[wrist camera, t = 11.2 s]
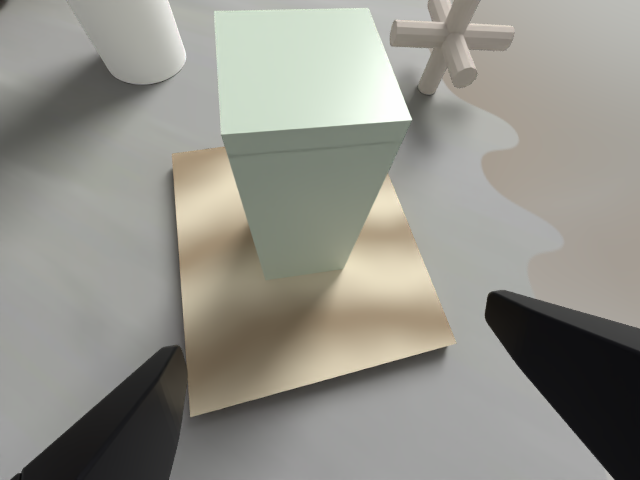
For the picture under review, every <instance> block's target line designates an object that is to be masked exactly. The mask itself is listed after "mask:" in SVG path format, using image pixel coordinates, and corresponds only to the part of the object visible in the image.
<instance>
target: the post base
mask: <svg viewBox="0 0 640 480" xmlns="http://www.w3.org/2000/svg"><path fill="white" fill-rule="evenodd" d="M172 162H173V176H174V191H175V205H176V219H177V234H178V248H179V262H180V277H181V291H182V305H183V319H184V334H185V348H186V362H187V371H188V391H189V405H190V417H193V416H197V415H201V414H204V413H208V412H211V411H215V410H219V409H222V408H226V407H229V406H233V405H237V404H240V403H244V402H247V401H251V400H255V399H258V398H262V397H265V396H269V395H273V394H276V393H280V392H283V391H287V390H291V389H294V388H298V387H301V386H305V385H309V384H312V383H316V382H319V381H323V380H327V379H330V378H334V377H337V376H341V375H345V374H348V373H352V372H355V371H359V370H363V369H366V368H370V367H373V366H377V365H381V364H384V363H388V362H391V361H395V360H399V359H402V358H406V357H409V356H413V355H417V354H420V353H424V352H427V351H431V350H435V349H438V348H442V347H445V346H449V345H453V344H456V341H455V338H454V336H453V333H452V331H451V328H450V326H449V323H448V321H447V318H446V316H445V313H444V311H443V308H442V306H441V303H440V301H439V298H438V296H437V294H436V291H435V289H434V286H433V284H432V281H431V279H430V276H429V274H428V271H427V269H426V266H425V264H424V261H423V259H422V256H421V254H420V251H419V249H418V247H417V244H416V242H415V239H414V237H413V234H412V232H411V229H410V227H409V224H408V222H407V219H406V217H405V214H404V212H403V209H402V207H401V204H400V202H399V200H398V197H397V195H396V192H395V190H394V187H393V185H392V182H391V180H390V177H389V175H388V174H387V176H386V178H385V180H384V182H383V184H382V187H381V189H380V191H379V193H378V195H377V197H376V200H375V202H374V204H373V206H372V208H371V210H370V213H369V215H368V217H367V219H366V221H365V223H364V226H363V228H362V230H361V232H360V234H359V236H358V239H357V241H356V243H355V245H354V247H353V249H352V252H351V254H350V256H349V258H348V260H347V262H346V265H345V267H344V269H340V270H333V271H326V272H319V273H312V274H306V275H299V276H292V277H285V278H278V279H271V280H265V277H264V274H263V270H262V267H261V264H260V261H259V257H258V254H257V251H256V247H255V244H254V241H253V238H252V234H251V231H250V228H249V224H248V221H247V218H246V215H245V211H244V208H243V205H242V201H241V198H240V195H239V192H238V188H237V185H236V182H235V179H234V175H233V172H232V169H231V165H230V162H229V159H228V156H227V152H226V149H225V147H218V148H211V149H204V150H196V151H189V152H182V153H174V154H172Z"/></svg>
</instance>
